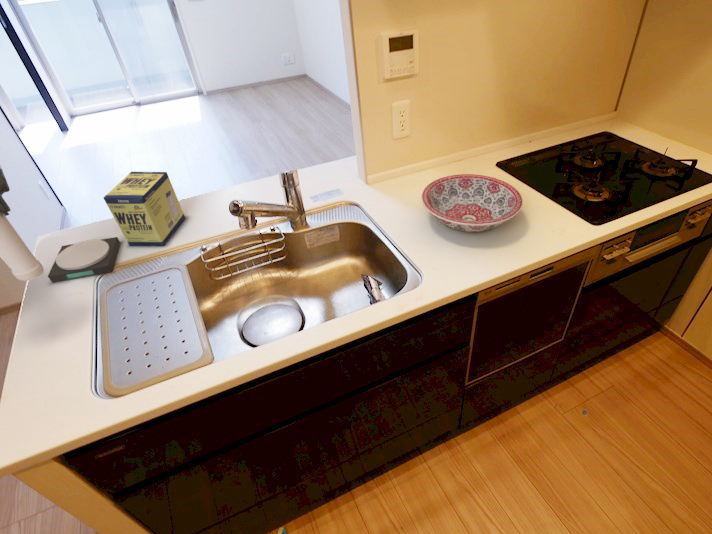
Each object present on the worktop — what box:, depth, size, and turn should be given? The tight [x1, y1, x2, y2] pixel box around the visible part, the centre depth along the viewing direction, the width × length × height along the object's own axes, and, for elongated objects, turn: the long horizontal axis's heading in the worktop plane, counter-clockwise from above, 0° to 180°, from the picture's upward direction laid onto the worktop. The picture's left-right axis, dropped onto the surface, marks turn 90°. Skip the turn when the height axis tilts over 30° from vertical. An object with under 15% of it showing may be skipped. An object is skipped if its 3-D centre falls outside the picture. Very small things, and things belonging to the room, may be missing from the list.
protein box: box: [103, 171, 186, 247], centre depth 121 cm, size 10×16×16 cm
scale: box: [47, 236, 121, 284], centre depth 115 cm, size 14×14×3 cm
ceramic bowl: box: [421, 173, 524, 233], centre depth 126 cm, size 29×29×8 cm
